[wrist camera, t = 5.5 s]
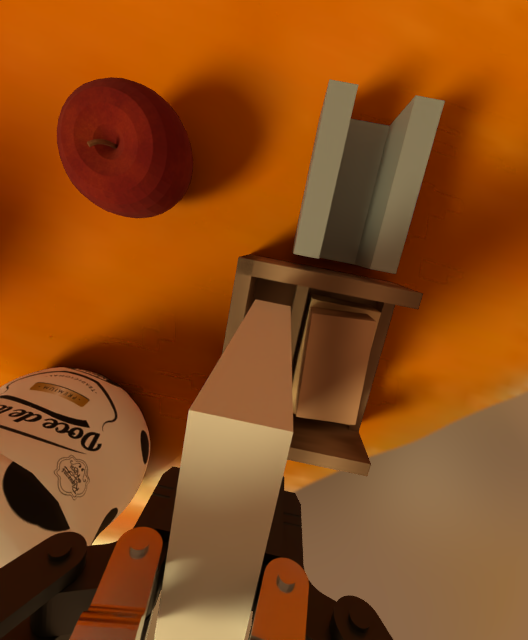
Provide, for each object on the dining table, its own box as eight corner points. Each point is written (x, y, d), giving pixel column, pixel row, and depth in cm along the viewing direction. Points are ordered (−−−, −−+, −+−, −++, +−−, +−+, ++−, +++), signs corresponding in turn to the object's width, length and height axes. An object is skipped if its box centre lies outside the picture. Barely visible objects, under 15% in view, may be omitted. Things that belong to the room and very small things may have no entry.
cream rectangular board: (290, 306, 23) (293, 432, 8) (261, 442, 26) (219, 742, 10) (255, 299, 23) (189, 410, 8) (230, 436, 26) (141, 724, 10)
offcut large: (371, 305, 32) (380, 312, 29) (343, 407, 35) (349, 425, 31) (309, 293, 32) (312, 299, 29) (286, 395, 35) (286, 412, 31)
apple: (167, 92, 30) (110, 19, 20) (227, 185, 32) (201, 158, 22) (89, 156, 32) (3, 117, 22) (150, 242, 33) (94, 241, 23)
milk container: (125, 338, 36) (-31, 428, 18) (182, 474, 39) (97, 662, 21) (-11, 380, 38) (-266, 497, 20) (54, 506, 41) (-117, 699, 24)
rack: (390, 281, 32) (423, 293, 25) (349, 426, 36) (367, 476, 28) (249, 254, 33) (238, 257, 25) (223, 400, 36) (207, 442, 29)
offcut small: (367, 313, 29) (376, 321, 26) (348, 408, 31) (355, 425, 28) (309, 306, 29) (312, 313, 26) (295, 400, 31) (296, 416, 28)
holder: (408, 134, 30) (444, 100, 23) (372, 267, 32) (395, 274, 26) (319, 117, 30) (329, 79, 23) (291, 251, 32) (293, 253, 26)
